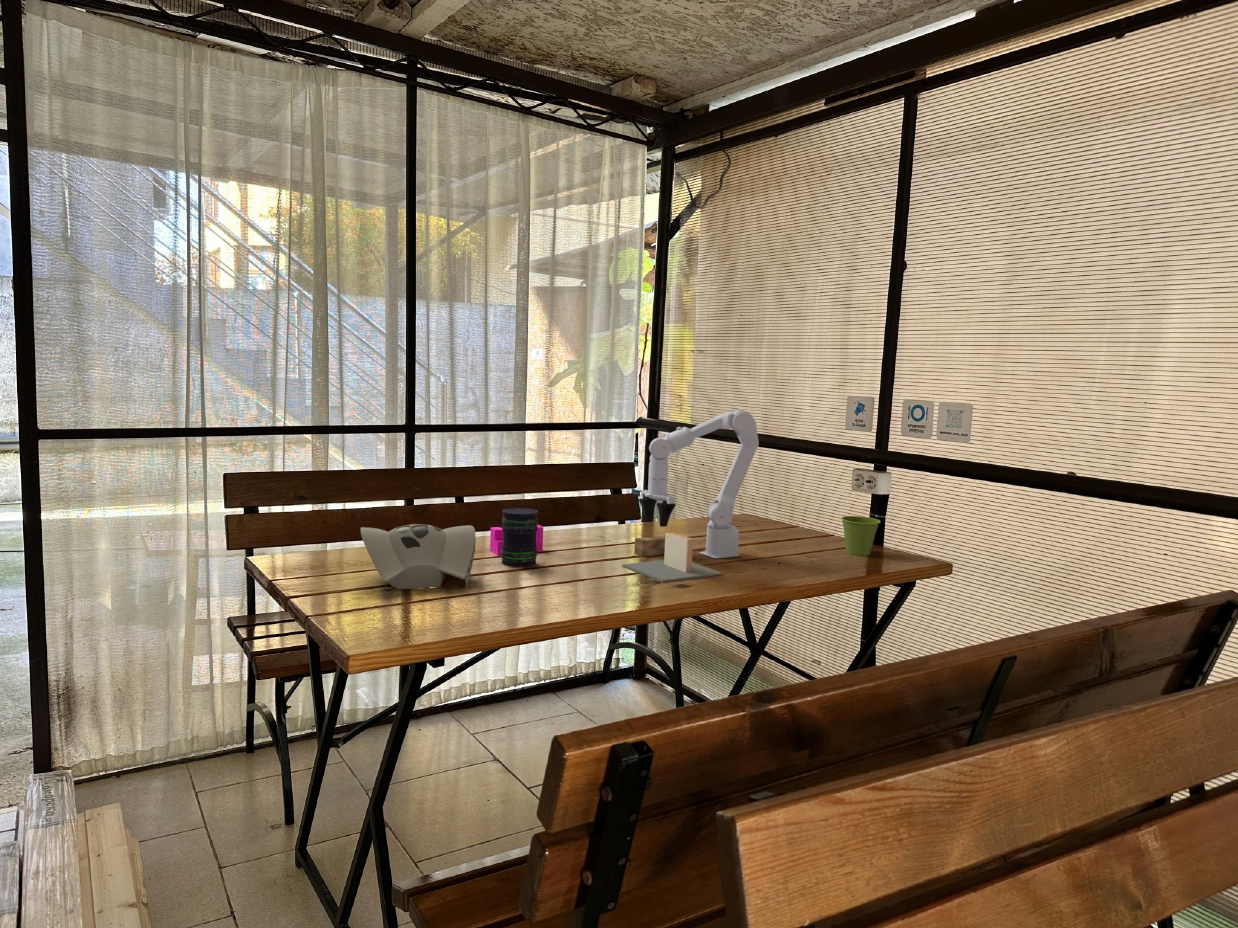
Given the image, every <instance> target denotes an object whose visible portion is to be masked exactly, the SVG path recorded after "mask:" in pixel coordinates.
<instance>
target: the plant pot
mask: <svg viewBox="0 0 1238 928" xmlns="http://www.w3.org/2000/svg"><path fill="white" fill-rule="evenodd" d="M840 520H842V528H843V535H844V547H845V554H847V555H850V556H854V555H855V556H856V557H868V556H867V555H869V556H870V554H871V551H872V547H873V545H874V540H875V536H876V532H877V530H878V526H879V524H881V520H880V519H877V518H873V517H868V516H859V515H858V516H857V515H845V516H841V517H840Z"/></svg>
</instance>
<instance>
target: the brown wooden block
mask: <svg viewBox="0 0 1238 928" xmlns="http://www.w3.org/2000/svg"><path fill="white" fill-rule="evenodd" d="M664 554H665V535H655V536H646V537H636V538H634V555H636V556H639V557H651V556H659V555H664Z"/></svg>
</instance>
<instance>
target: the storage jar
mask: <svg viewBox="0 0 1238 928" xmlns="http://www.w3.org/2000/svg"><path fill="white" fill-rule="evenodd" d="M538 514H539V510H538V509H535V508H529V507H508V508H504V509H502V519H501V520H502V521H501V524H502V526H501V528H502V530H503V544H502V550H501V555H500V556H501V565H503V566H507V567H513V568H523V569H526V568H527V569H528V568H529V569H530V568H532V567H536V566H537V556H538V552H537V544H536V532H537V529H538V525H539V516H538Z"/></svg>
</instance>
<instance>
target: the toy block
mask: <svg viewBox="0 0 1238 928" xmlns="http://www.w3.org/2000/svg"><path fill="white" fill-rule="evenodd" d="M489 534H490V536H489V537H490V539H489V541H490V542H489V551H490V552H491V553H493V554H495V555H496V556H502V555H501V550H502V544H503V530H502V527H500V526H498V527H497V526H494V527H490V531H489ZM536 544H537V551H540V552H543V550H544V526H542V525H540V524H538V529H537V532H536Z"/></svg>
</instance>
